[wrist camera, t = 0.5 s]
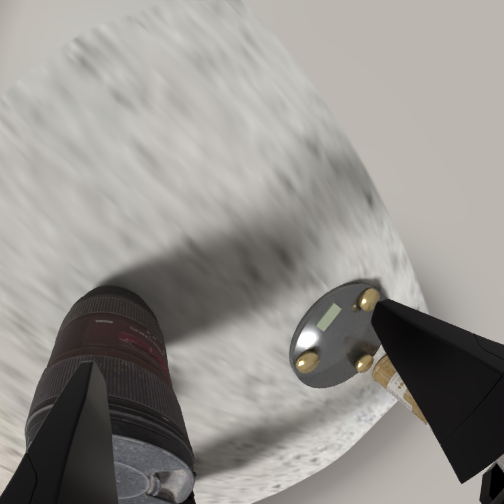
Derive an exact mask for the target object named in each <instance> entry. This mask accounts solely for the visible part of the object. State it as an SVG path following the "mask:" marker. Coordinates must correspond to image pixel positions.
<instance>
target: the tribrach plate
mask: <svg viewBox="0 0 504 504" xmlns="http://www.w3.org/2000/svg"><path fill="white" fill-rule="evenodd" d="M382 299H386V298H385V297H384V295H383V294H382V293H381V292H380V291H379V290H377V289H376V288H374V287H372V286H370V285H368V284H365V283H360V282H355V283H348V284H344V285H342V286H339V287H337V288H335V289H333V290H331V291H330V292H328V293H327V294H325V295H324V296H323V297H321V298H320V299H319V300H318V301H317V302H316V303H315V304H314V305H313V306H312V307H311V308H310V309H309V310H308V311H307V313H306V314H305V315H304V317H303V318H302V319H301V321H300V323H299V325H298V326H297V328H296V330H295V333H294V335H293V338H292V341H291V345H290V353H289V358H290V364H291V367H292V370H293V372H294V373H295V374H296V376H297V377H298V378H299V379H300V380H301V381H302V382H303V383H304V384H306V385H308V386H310V387H313V388H327V387H332V386H335V385H338V384H340V383H343V382H345V381H346V380H348V379H350V378H351V377H353V376H354V375H356V374H357V373H358V372H360V373H364V372H366V371H367V370H368V369H369V368H370V367H371V366H372V364H373V361H374V359H373V356H374V355H375V354H376V352H377V351H378V349H379V347H380V345H381V342H380V341H379V339H378V337H377V335H376V333H375V331H374V329H373V327H372V325H371V317H372V314H373V311H374V307H375V304H376V303H377V301H379V300H382Z"/></svg>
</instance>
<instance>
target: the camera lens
mask: <svg viewBox="0 0 504 504" xmlns="http://www.w3.org/2000/svg"><path fill="white" fill-rule="evenodd" d="M82 361H94V362H95V363H96V364H97V366H98V368H99V370H100V372H101V374H102V376H103V377H104V380H105V383H106V391H107V400H108V407H109V415H110V421H111V428H112V441H113V456H114V468H115V478H116V486H117V494H118V501H119V504H178V503H182V502H183V501H184V500H186V499H187V497H188V496H189V495H190V493H191V492H192V490H193V487H194V482H195V478H194V473H193V466H194V463H195V458H194V454H193V451H192V447H191V445H190V441H189V438H188V434H187V431H186V427H185V423H184V419H183V416H182V412H181V408H180V405H179V403H178V400H177V398H176V395H175V393H174V391H173V388H172V383H171V379H170V374H169V369H168V360H167V353H166V347H165V343H164V338H163V334H162V332H161V330H160V327H159V324H158V321H157V319H156V317H155V315H154V314H153V312H152V311H151V310H150V308H149V307H148V306H147V305H146V303H145V302H144V301H143V300H142V299H141V298H140V297H139V296H138V295H136V294H135V293H133V292H131V291H129V290H127V289H124V288H120V287H117V286H104V287H99V288H96V289H94V290H92V291H90V292H88V293H87V294H86V295H85V296H83V297H81V298H80V299H79V300H78V301H77V302H76V303H75V304H74V305H73V306H72V308H71V310H70V311H69V312H68V314H67V315H66V317H65V318H64V320H63V322H62V324H61V327H60V329H59V332H58V335H57V338H56V341H55V346H54V348H53V351H52V354H51V357H50V359H49V362H48V365H47V368H46V369H45V370H44V372H43V374H42V376H41V379H40V381H39V383H38V385H37V388H36V391H35V394H34V398H33V401H32V404H31V408H30V411H29V415H28V419H27V422H26V427H25V438H26V452H27V449H28V448H29V446H30V444H31V442H32V440H33V438H34V437H35V435H36V433H37V431H38V430H39V428H40V426H41V424H42V423H43V421H44V419H45V418H46V416H47V414H48V413H49V411H50V409H51V408H52V406H53V404H54V403H55V401H56V399H57V398H58V396H59V395H60V393H61V391H62V390H63V388H64V387H65V385H66V383H67V382H68V380H69V379H70V377H71V376H72V374H73V373H74V371H75V370H76V368H77V367H78V365H79V364H80V363H81V362H82ZM27 453H28V452H27Z"/></svg>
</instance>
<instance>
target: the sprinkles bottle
mask: <svg viewBox="0 0 504 504" xmlns="http://www.w3.org/2000/svg"><path fill="white" fill-rule="evenodd" d="M373 378H374V380H375V381H378V382H379V383H380V384H381V385H382V386H383V387H384V388H386V389H387V391H388V392H389V393H391V394H392V395H393V396H394V397H395V398H396V399H397V400H399V401H400V402H401V403H402V404H403V405H404V406H405V407H407V408H408V409H409V410H410V411H411V412H413V413H414V414H415V415H416V416H418V417H419V418H420V419H421V420H422V421H423V422H424V423H425V424H426V426H427V427H428V428H429V429H430V430H431V431H432V429H431V428H430V426H429V424H428V423H427V421H426V419H425V417H424V416H423V414H422V412H421V411H420V409H419V407H418V406H417V404H416V402H415V400H414V399H413V397H412V396H411V394H410V392H409V391H408V389H407V387H406V386H405V384H404V382H403V381H402V379H401V378H400V376H399V374H398V373H397V371H396V370H395V368H394V366H393V365H392V363H391V362H390V360H389V358H388V356H385V357H384V358H382V359H381V360H380V361H379V362H378V363H377V365H376V366H375V368H374V371H373ZM432 432H433V431H432Z"/></svg>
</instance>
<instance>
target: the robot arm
mask: <svg viewBox="0 0 504 504" xmlns="http://www.w3.org/2000/svg"><path fill="white" fill-rule="evenodd" d="M371 325H372V327H373V329H374V331H375V333H376V335H377V337H378V339H379V341H380V342H381V344H382V346H383V348H384V350H385V352H386V354H387V356H388V358H389V360H390V362H391V363H392V365H393V366H394V368H395V370H396V371H397V373H398V374H399V376H400V378H401V379H402V381H403V382H404V384H405V386H406V387H407V389H408V391H409V392H410V394H411V396H412V397H413V399H414V400H415V402H416V404H417V406H418V407H419V409H420V411H421V412H422V414H423V416H424V417H425V419H426V421H427V423H428V424H429V426H430V428H431V429H432V431H433V433H434V435H435V436H436V438H437V440H438V442H439V444H441V445H440V446H441V447H442V449H443V451H444V453H445V455H446V456H447V458H448V460H449V462H450V464H451V466H452V468H453V470H454V471H455V473H456V475H457V477H458V479H459V481H460V482H461V484H463V483H464V482H466V481H467V480H469V479H471V478H472V477H473V476H475V475H476V474H478V473H479V472H481V471H482V470H484V469H485V468H486V467H488V466H489V465H490V464H492V463H493V462H494V461H495V462H494V463H493V465H492V466H491V467H490V468H489V469H488V470H487V471H486V472H485V473H484V474H483V477H482V486H481V494H480V500H479V501H480V502H481V503H482V504H504V345H503V344H500V343H497V342H494V341H491V340H489V339H486V338H484V337H481V336H479V335H476V334H474V333H473V334H472V333H471V332H469V331H467V330H464V329H462V328H459V327H457V326H454V325H452V324H449V323H447V322H445V321H442V320H439V319H437V318H435V317H432V316H430V315H427V314H425V313H422V312H420V311H418V310H415V309H413V308H410V307H408V306H405V305H403V304H400V303H398V302H395V301H393V300H390V299H382V300H379V301H377V303H376V304H375V307H374V311H373V314H372V317H371ZM27 452H28V453H27ZM27 452H26V453H25V455H24V457H23V459H22V460H21V462H20V464H19V466H18V468H17V470H16V471H15V473H14V475H13V477H12V478H11V480H10V482H9V483H8V485H7V487H6V488H5V490H4V491H3V493H2V494H1V496H0V504H119V501H118V494H117V486H116V478H115V468H114V456H113V441H112V428H111V421H110V415H109V407H108V400H107V391H106V383H105V380H104V377H103V376H102V374H101V372H100V370H99V368H98V366H97V364H96V363H95V362H94V361H82V362H81V363H80V364H79V365H78V367H77V368H76V370H75V371H74V373H73V374H72V376H71V377H70V379H69V380H68V382H67V383H66V385H65V387H64V388H63V390H62V391H61V393H60V395H59V396H58V398H57V399H56V401H55V403H54V404H53V406H52V408H51V409H50V411H49V413H48V414H47V416H46V418H45V419H44V421H43V423H42V424H41V426H40V428H39V430H38V431H37V433H36V435H35V437H34V438H33V440H32V442H31V444H30V446H29V448H28V449H27ZM193 473H194V478H195V477H196V473H195V472H193ZM178 504H196V502H195V499H194V492H193V490H192V492H191V493H190V495H189V496H188V497H187V499H186V500H184V501H183V502H182V503H178Z"/></svg>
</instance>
